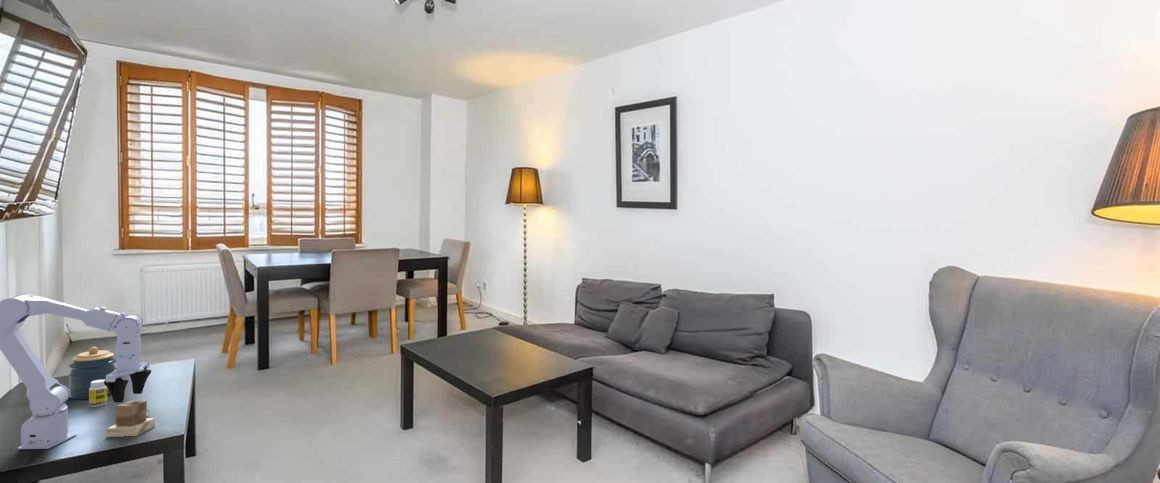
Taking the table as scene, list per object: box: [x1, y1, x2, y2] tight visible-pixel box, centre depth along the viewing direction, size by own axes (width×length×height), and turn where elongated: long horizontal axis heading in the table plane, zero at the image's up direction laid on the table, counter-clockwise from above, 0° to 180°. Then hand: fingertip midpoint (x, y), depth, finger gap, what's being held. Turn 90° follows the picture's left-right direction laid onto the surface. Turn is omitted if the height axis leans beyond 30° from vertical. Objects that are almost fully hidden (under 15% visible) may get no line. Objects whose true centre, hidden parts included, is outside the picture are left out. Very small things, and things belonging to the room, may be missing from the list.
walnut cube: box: [115, 400, 148, 426], centre depth 159 cm, size 5×5×6 cm
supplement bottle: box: [88, 380, 108, 408], centre depth 179 cm, size 5×5×8 cm
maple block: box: [106, 417, 156, 438], centre depth 159 cm, size 8×8×3 cm
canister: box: [68, 346, 116, 400], centre depth 188 cm, size 13×13×18 cm
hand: (128, 397), depth 159 cm, fingers open, 7 cm apart
